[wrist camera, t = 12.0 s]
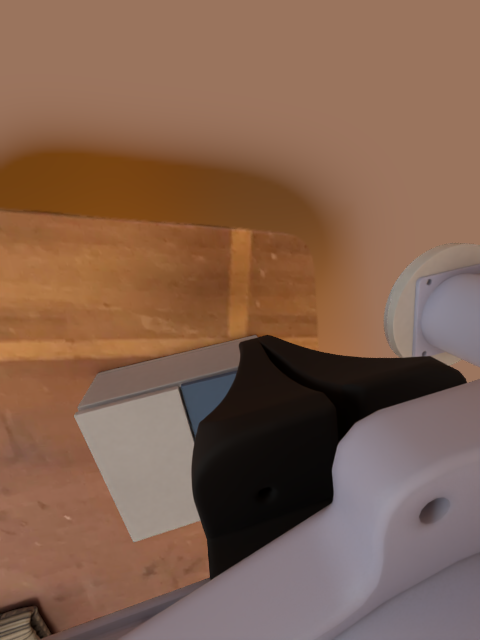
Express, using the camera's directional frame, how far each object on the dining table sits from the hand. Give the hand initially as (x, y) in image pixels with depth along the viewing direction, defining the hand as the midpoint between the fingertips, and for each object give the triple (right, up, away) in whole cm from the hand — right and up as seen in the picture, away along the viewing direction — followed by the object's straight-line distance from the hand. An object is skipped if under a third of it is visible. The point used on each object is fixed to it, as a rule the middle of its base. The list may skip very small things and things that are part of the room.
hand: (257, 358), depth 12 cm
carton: (-5, -6, +12) cm, 15 cm away
